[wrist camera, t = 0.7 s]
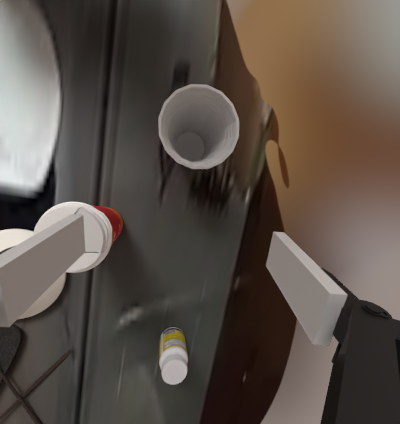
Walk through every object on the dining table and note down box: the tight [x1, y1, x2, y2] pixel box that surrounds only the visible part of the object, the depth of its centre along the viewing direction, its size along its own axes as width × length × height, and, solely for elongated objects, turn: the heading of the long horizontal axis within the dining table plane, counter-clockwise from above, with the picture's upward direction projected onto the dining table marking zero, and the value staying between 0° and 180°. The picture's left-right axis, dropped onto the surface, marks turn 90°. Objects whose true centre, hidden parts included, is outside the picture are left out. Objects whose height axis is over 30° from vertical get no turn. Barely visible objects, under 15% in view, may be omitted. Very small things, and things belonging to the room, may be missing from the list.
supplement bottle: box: [159, 327, 188, 385], centre depth 37 cm, size 5×5×8 cm
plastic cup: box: [158, 84, 239, 169], centre depth 34 cm, size 11×11×12 cm
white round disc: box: [0, 229, 66, 319], centre depth 36 cm, size 15×15×1 cm
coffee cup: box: [33, 202, 123, 273], centre depth 31 cm, size 8×8×15 cm
